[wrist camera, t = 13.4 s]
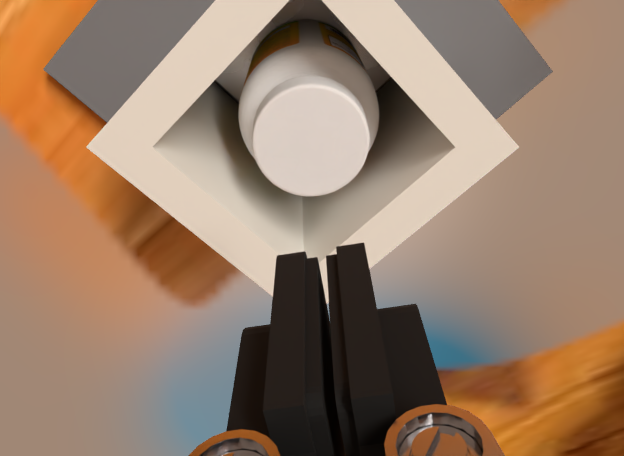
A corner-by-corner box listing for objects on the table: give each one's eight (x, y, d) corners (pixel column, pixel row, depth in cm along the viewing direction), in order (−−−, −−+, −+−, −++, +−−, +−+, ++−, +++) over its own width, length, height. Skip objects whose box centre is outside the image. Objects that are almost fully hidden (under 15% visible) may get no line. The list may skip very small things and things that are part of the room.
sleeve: (441, 71, 29) (519, 147, 19) (301, 198, 32) (304, 321, 22) (301, -92, 25) (306, -104, 15) (158, 69, 28) (85, 147, 18)
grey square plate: (388, 71, 29) (391, 75, 28) (301, 153, 31) (301, 160, 30) (301, -26, 26) (301, -24, 26) (213, 70, 28) (210, 74, 27)
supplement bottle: (249, 127, 29) (230, 213, 20) (250, 14, 26) (228, 57, 18) (355, 132, 29) (381, 219, 20) (366, 21, 27) (401, 66, 18)
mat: (545, 67, 30) (552, 71, 29) (300, 275, 35) (300, 283, 34) (301, -249, 23) (301, -256, 23) (50, 64, 29) (43, 69, 28)
